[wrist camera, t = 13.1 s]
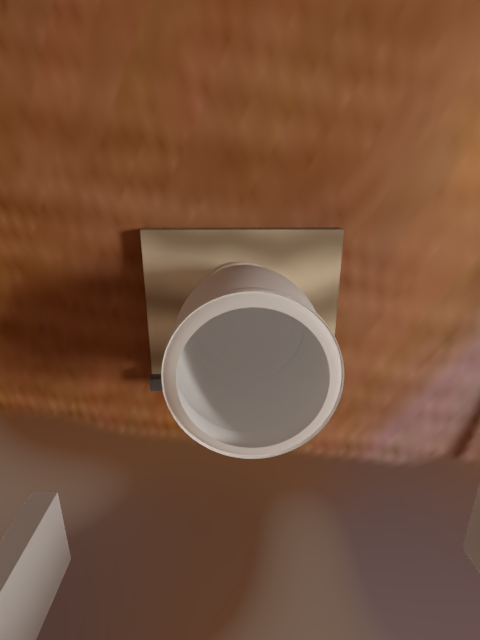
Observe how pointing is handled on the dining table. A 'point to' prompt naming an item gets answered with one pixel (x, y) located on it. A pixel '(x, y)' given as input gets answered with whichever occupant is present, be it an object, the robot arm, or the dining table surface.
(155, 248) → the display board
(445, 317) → the dining table surface
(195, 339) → the jar
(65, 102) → the dining table surface
